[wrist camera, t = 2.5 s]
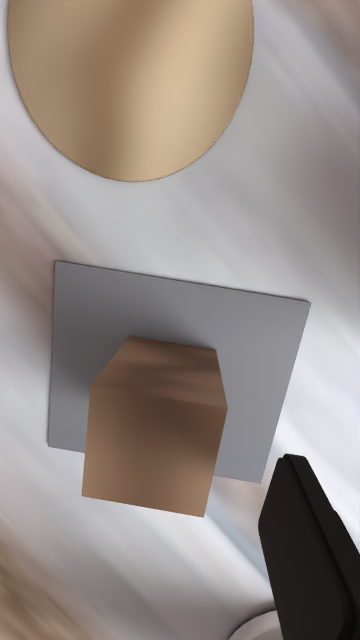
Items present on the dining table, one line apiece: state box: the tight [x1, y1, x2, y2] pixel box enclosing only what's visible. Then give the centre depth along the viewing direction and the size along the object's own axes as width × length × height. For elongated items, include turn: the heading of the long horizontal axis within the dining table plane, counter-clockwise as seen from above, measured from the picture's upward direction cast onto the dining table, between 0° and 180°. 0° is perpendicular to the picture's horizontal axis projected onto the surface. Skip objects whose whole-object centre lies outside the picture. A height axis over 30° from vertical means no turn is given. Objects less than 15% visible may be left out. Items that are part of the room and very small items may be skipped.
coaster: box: [7, 0, 254, 182], centre depth 12 cm, size 11×11×1 cm
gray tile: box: [48, 261, 311, 484], centre depth 16 cm, size 14×12×1 cm
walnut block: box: [82, 336, 228, 518], centre depth 13 cm, size 5×5×6 cm
